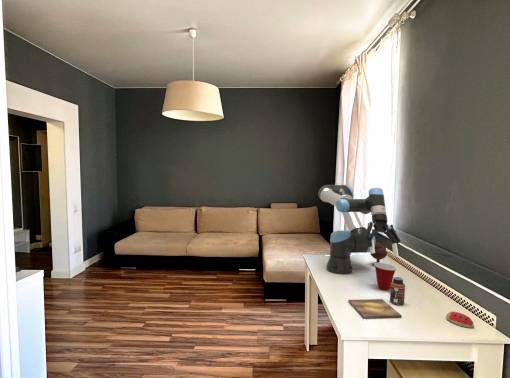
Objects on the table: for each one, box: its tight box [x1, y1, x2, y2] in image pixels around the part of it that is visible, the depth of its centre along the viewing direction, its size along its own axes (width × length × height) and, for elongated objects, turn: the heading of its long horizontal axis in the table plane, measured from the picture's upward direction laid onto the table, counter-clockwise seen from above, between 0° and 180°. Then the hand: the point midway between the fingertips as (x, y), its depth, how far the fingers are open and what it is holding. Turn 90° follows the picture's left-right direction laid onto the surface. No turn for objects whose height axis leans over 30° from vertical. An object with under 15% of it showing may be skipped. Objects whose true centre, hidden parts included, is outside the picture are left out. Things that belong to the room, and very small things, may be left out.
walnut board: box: [347, 298, 403, 320], centre depth 132 cm, size 16×16×1 cm
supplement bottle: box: [389, 276, 406, 306], centre depth 138 cm, size 6×6×11 cm
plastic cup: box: [373, 262, 398, 291], centre depth 156 cm, size 11×11×12 cm
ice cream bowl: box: [370, 241, 389, 267], centre depth 194 cm, size 11×11×15 cm
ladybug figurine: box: [445, 310, 475, 329], centre depth 121 cm, size 7×10×4 cm
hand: (384, 254), depth 155 cm, fingers open, 13 cm apart
